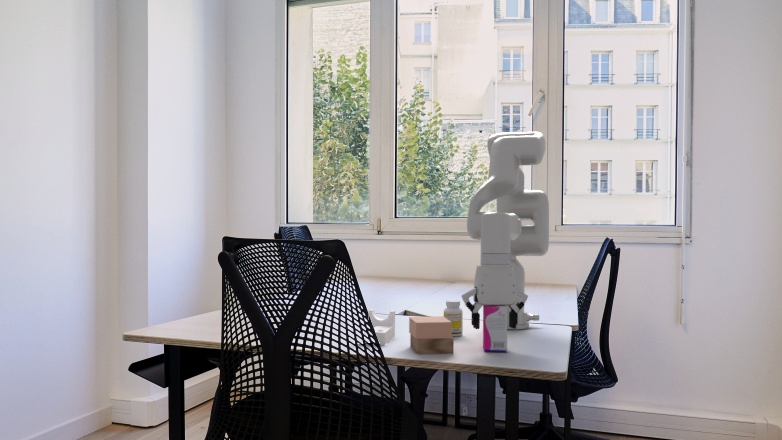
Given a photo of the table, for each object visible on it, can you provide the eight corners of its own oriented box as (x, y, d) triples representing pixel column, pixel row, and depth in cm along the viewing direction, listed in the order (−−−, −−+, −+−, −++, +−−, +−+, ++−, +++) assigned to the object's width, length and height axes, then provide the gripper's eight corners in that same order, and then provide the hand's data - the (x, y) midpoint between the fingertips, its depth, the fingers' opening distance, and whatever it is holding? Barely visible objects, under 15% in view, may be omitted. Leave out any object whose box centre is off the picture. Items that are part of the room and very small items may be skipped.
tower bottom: (443, 346, 159) (444, 331, 159) (453, 354, 150) (453, 338, 150) (410, 347, 158) (410, 332, 158) (418, 355, 149) (418, 339, 149)
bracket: (370, 335, 174) (370, 309, 173) (394, 336, 172) (395, 310, 172) (358, 344, 161) (358, 316, 161) (384, 346, 159) (385, 317, 159)
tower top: (442, 331, 159) (443, 316, 159) (451, 338, 150) (451, 322, 150) (409, 332, 158) (409, 316, 158) (415, 339, 149) (416, 322, 149)
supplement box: (505, 348, 157) (505, 303, 157) (507, 353, 151) (507, 307, 151) (482, 347, 158) (482, 303, 158) (483, 352, 152) (484, 306, 152)
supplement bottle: (448, 332, 178) (448, 299, 178) (465, 334, 175) (465, 300, 175) (440, 335, 174) (440, 301, 174) (457, 337, 171) (458, 302, 171)
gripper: (521, 260, 160) (521, 325, 159) (458, 259, 157) (457, 326, 156) (533, 261, 152) (532, 330, 152) (467, 261, 149) (466, 330, 149)
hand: (494, 328), depth 154 cm, fingers open, 9 cm apart
